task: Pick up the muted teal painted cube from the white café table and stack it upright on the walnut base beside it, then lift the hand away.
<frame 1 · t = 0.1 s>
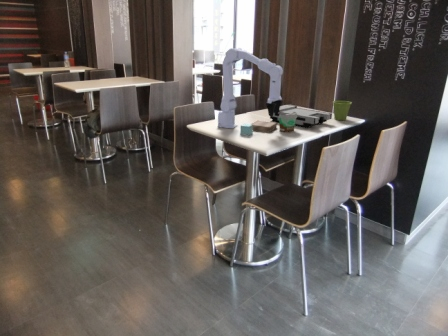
hand: (273, 114, 187), 10 cm above the table, tool pointing down, fingers open, 7 cm apart
plant pot: (339, 119, 223), on the table
teal cube: (246, 134, 187), on the table
food container: (289, 131, 193), on the table
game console: (299, 123, 214), on the table
walnut base: (263, 128, 198), on the table
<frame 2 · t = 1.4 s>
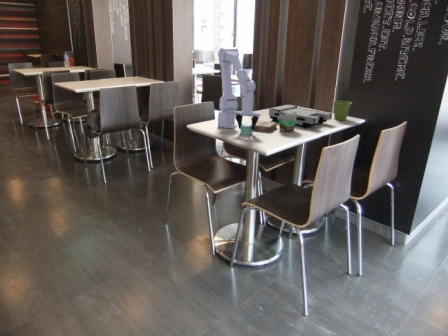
hand: (246, 129, 186), 3 cm above the table, tool pointing down, fingers open, 7 cm apart
nothing on the table moved.
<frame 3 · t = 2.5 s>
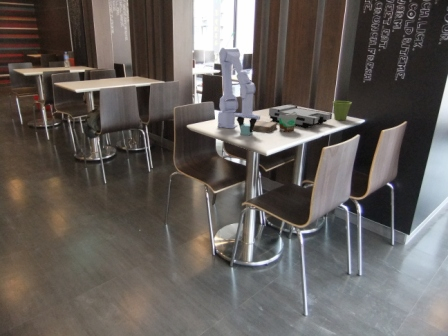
hand: (246, 131, 187), 1 cm above the table, tool pointing down, fingers closed on teal cube, 5 cm apart
teal cube: (246, 133, 187), on the table, touching gripper
everything else where it was.
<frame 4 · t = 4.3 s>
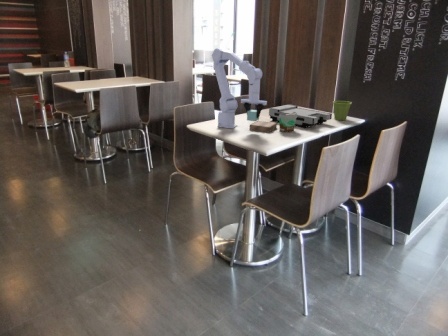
hand: (253, 117, 188), 8 cm above the table, tool pointing down, fingers closed on teal cube, 5 cm apart
teal cube: (253, 119, 188), point 7 cm above the table, touching gripper
everything else where it was.
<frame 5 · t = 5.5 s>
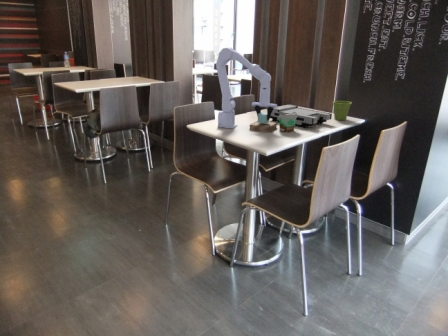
hand: (263, 119, 196), 5 cm above the table, tool pointing down, fingers closed on teal cube, 5 cm apart
teal cube: (263, 122, 196), point 4 cm above the table, touching gripper
everything else where it was.
when the fingers open (5 cm above the table, at t = 6.3 s): teal cube stays where it is, resting on walnut base.
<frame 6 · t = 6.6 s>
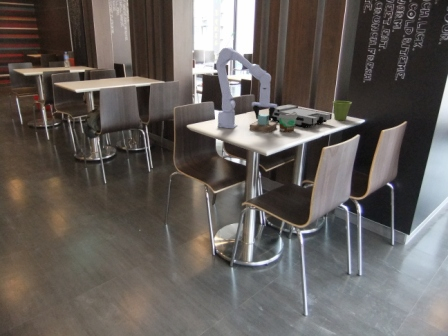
hand: (263, 119, 196), 5 cm above the table, tool pointing down, fingers open, 7 cm apart
teal cube: (263, 123, 197), point 3 cm above the table, touching walnut base
everything else where it was.
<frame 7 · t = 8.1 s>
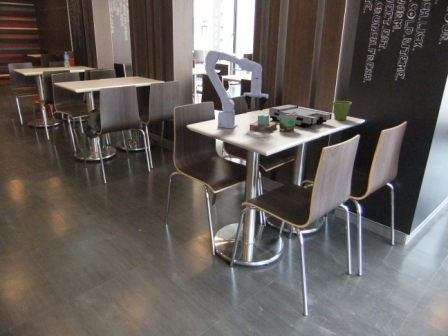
hand: (255, 109, 197), 10 cm above the table, tool pointing down, fingers open, 7 cm apart
nothing on the table moved.
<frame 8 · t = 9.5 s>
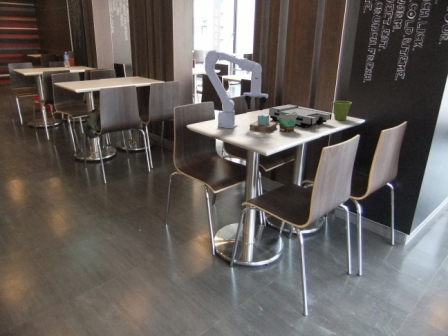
hand: (255, 109, 198), 10 cm above the table, tool pointing down, fingers open, 7 cm apart
nothing on the table moved.
at the end: teal cube inside the target area on the walnut base (0.3 cm from its centre), point 3.0 cm above the walnut base's base; teal cube tilted 0°; the gripper is holding nothing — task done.
